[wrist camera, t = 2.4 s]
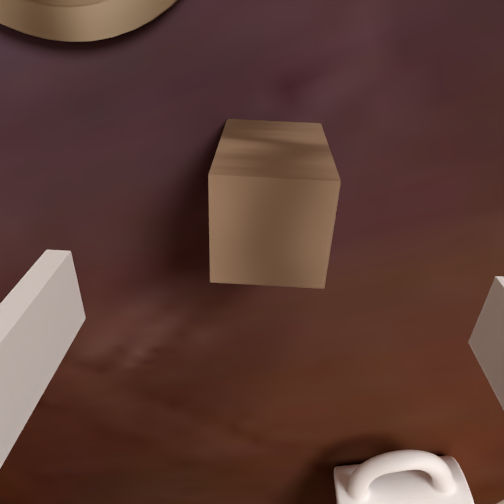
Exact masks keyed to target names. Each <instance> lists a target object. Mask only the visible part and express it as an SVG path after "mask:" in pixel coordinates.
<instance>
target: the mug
mask: <svg viewBox="0 0 504 504" xmlns="http://www.w3.org/2000/svg"><path fill="white" fill-rule="evenodd" d="M334 481H335V490H336V499H337V504H474V501H473V498H472V495H471V492H470V489H469V486H468V484H467V481H466V479H465V476H464V474H463V472H462V470H461V468H460V466H459V464H458V463H457V461H456V460H455V459H454V458H453V457H452V456H437V455H435V454H432V453H430V452H426V451H421V450H398V451H392V452H387V453H383V454H380V455H377V456H375V457H373V458H370V459H368V460H367V461H365V462H363V463H362V464H356V465H346V466H336V467H335V468H334Z"/></svg>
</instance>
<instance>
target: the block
mask: <svg viewBox="0 0 504 504" xmlns="http://www.w3.org/2000/svg"><path fill="white" fill-rule="evenodd" d="M340 184H341V180H340V178H339V175H338V172H337V169H336V166H335V163H334V160H333V157H332V154H331V151H330V149H329V146H328V143H327V140H326V137H325V134H324V131H323V128H322V125H321V123H302V122H282V121H261V120H240V119H227V121H226V124H225V127H224V130H223V133H222V136H221V139H220V142H219V144H218V147H217V150H216V153H215V156H214V159H213V162H212V165H211V168H210V171H209V174H208V190H209V250H210V282H213V283H231V284H250V285H268V286H286V287H305V288H323V289H324V287H325V280H326V274H327V267H328V261H329V255H330V248H331V242H332V235H333V229H334V222H335V216H336V210H337V203H338V197H339V190H340Z"/></svg>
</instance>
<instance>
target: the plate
mask: <svg viewBox="0 0 504 504" xmlns="http://www.w3.org/2000/svg"><path fill="white" fill-rule="evenodd" d="M177 1H178V0H0V23H1V24H2V25H5V26H7V27H10V28H13V29H15V30H18V31H20V32H23V33H25V34H29V35H33V36H37V37H41V38H45V39H50V40H58V41H67V42H82V41H95V40H101V39H106V38H112V37H115V36H118V35H121V34H123V33H126V32H129V31H132V30H135V29H137V28H139V27H141V26H143V25H145V24H147V23H148V22H150V21H152V20H154V19H156V18H157V17H158V16H160V15H161V14H162V13H164V12H165V11H166V10H168V9H169V8H170V7H171V6H173V5H174V4H175V3H176V2H177Z"/></svg>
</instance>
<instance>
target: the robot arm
mask: <svg viewBox="0 0 504 504" xmlns="http://www.w3.org/2000/svg"><path fill="white" fill-rule="evenodd" d="M85 319H86V318H85V313H84V309H83V304H82V300H81V295H80V290H79V286H78V281H77V277H76V272H75V268H74V263H73V259H72V254H71V251H61V250H46V251H45V252H44V253H43V254H42V256H41V257H40V258H39V259H38V260H37V261H36V263H35V264H34V265H33V266H32V267H31V268H30V270H29V271H28V272H27V273H26V274H25V275H24V277H23V278H22V279H21V280H20V281H19V282H18V284H17V285H16V286H15V287H14V288H13V289H12V291H11V292H10V293H9V294H8V295H7V296H6V298H5V299H4V300H3V301H2V302H1V303H0V468H1V467H2V465H3V463H4V461H5V459H6V458H7V456H8V454H9V452H10V451H11V449H12V447H13V445H14V444H15V442H16V440H17V438H18V437H19V435H20V433H21V431H22V430H23V428H24V426H25V424H26V423H27V421H28V419H29V417H30V415H31V414H32V412H33V410H34V408H35V407H36V405H37V403H38V401H39V400H40V398H41V396H42V394H43V393H44V391H45V389H46V387H47V386H48V384H49V382H50V380H51V378H52V377H53V375H54V373H55V371H56V370H57V368H58V366H59V364H60V363H61V361H62V359H63V357H64V356H65V354H66V352H67V350H68V349H69V347H70V345H71V343H72V342H73V340H74V338H75V336H76V334H77V333H78V331H79V329H80V327H81V326H82V324H83V322H84V320H85ZM468 343H469V345H470V347H471V349H472V351H473V353H474V354H475V356H476V358H477V360H478V362H479V364H480V366H481V368H482V370H483V372H484V374H485V376H486V377H487V379H488V381H489V383H490V385H491V387H492V389H493V391H494V393H495V395H496V397H497V398H498V400H499V402H500V404H501V406H502V408H503V410H504V277H500V276H495V279H494V281H493V284H492V286H491V289H490V291H489V293H488V296H487V298H486V301H485V303H484V305H483V308H482V310H481V313H480V315H479V318H478V320H477V322H476V325H475V327H474V330H473V332H472V335H471V337H470V339H469V342H468Z"/></svg>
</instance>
